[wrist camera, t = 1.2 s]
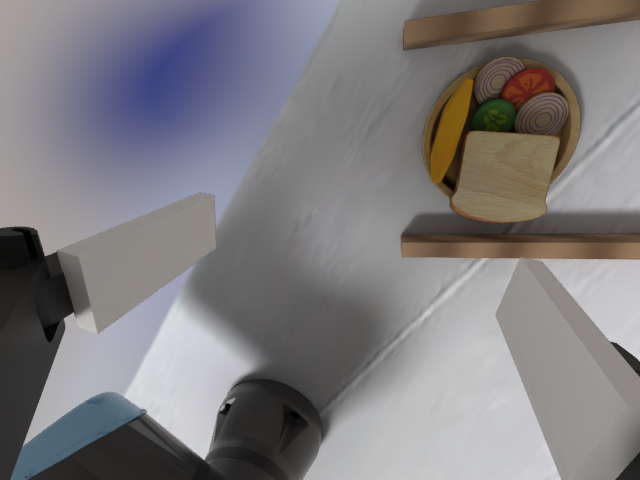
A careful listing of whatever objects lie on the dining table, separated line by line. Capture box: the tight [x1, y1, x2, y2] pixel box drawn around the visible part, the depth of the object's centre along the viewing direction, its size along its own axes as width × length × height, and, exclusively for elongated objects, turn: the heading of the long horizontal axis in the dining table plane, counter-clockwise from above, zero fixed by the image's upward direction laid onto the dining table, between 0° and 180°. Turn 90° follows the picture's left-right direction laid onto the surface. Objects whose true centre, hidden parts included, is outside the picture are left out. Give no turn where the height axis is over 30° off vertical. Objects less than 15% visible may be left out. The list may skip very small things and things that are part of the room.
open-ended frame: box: [401, 0, 640, 259], centre depth 24 cm, size 34×20×5 cm, turn 94°
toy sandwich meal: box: [422, 56, 581, 223], centre depth 26 cm, size 12×14×5 cm
